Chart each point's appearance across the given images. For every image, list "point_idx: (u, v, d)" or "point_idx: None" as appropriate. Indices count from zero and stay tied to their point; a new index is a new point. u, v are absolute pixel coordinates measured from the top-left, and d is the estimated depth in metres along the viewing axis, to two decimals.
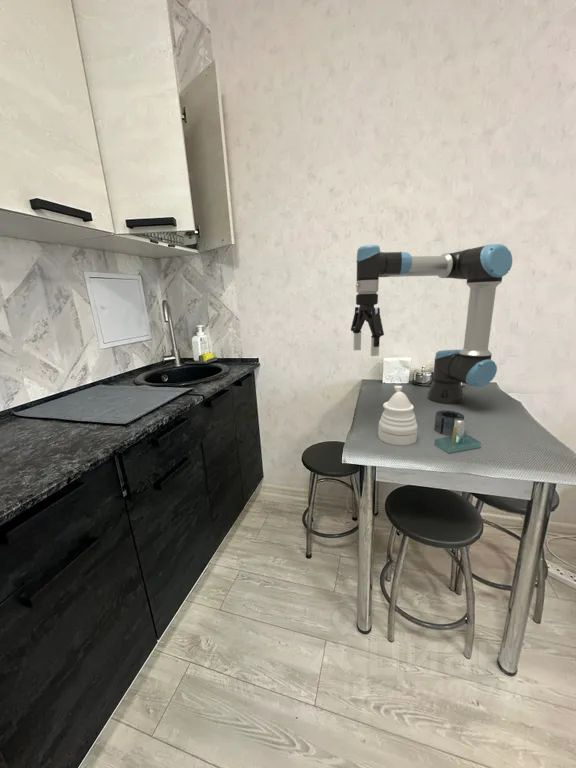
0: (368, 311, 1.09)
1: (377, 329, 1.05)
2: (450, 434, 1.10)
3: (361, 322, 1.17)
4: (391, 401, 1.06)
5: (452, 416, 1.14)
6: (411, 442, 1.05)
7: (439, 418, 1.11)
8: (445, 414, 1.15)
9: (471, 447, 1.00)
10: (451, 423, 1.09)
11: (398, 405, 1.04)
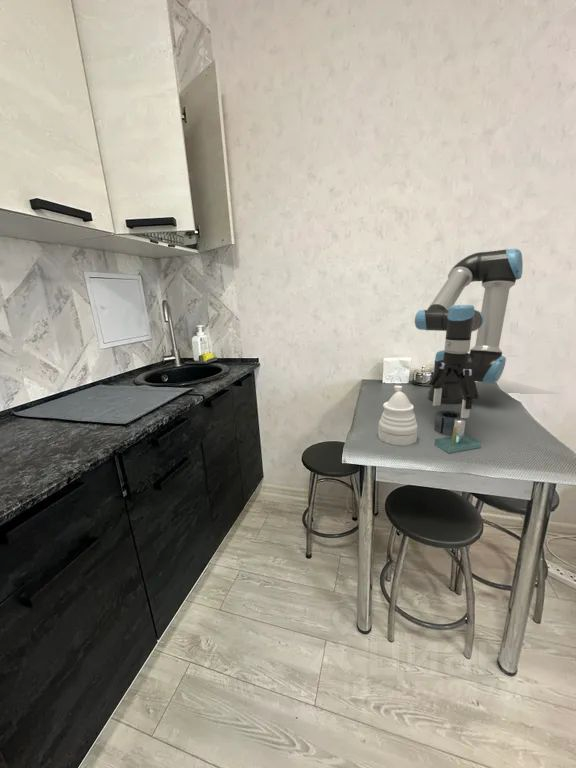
0: (459, 371, 1.04)
1: (472, 392, 1.00)
2: (450, 434, 1.10)
3: (445, 379, 1.13)
4: (391, 401, 1.06)
5: (452, 416, 1.14)
6: (411, 442, 1.05)
7: (439, 418, 1.11)
8: (445, 414, 1.15)
9: (471, 447, 1.00)
10: (451, 423, 1.09)
11: (398, 405, 1.04)
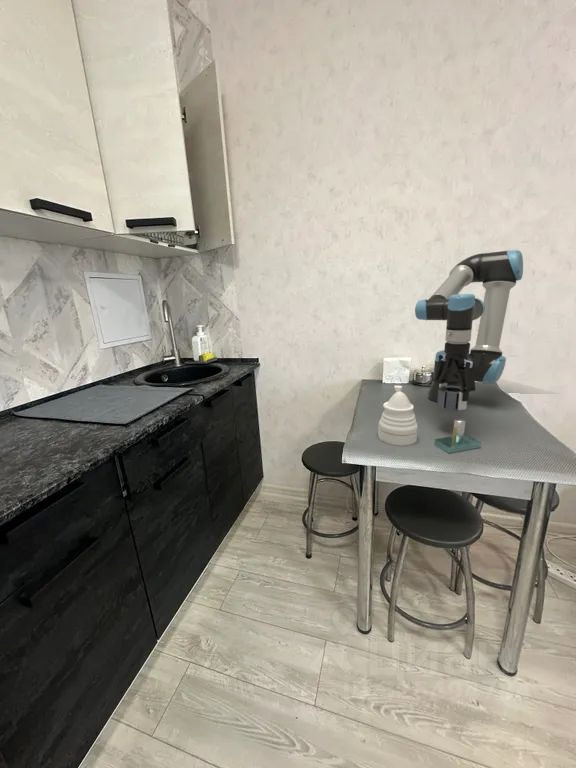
0: (460, 362, 1.04)
1: (469, 385, 1.02)
2: (453, 408, 1.08)
3: (448, 371, 1.11)
4: (391, 401, 1.06)
5: (455, 391, 1.12)
6: (411, 442, 1.05)
7: (442, 393, 1.09)
8: (448, 389, 1.13)
9: (471, 447, 1.00)
10: (454, 397, 1.06)
11: (398, 405, 1.04)
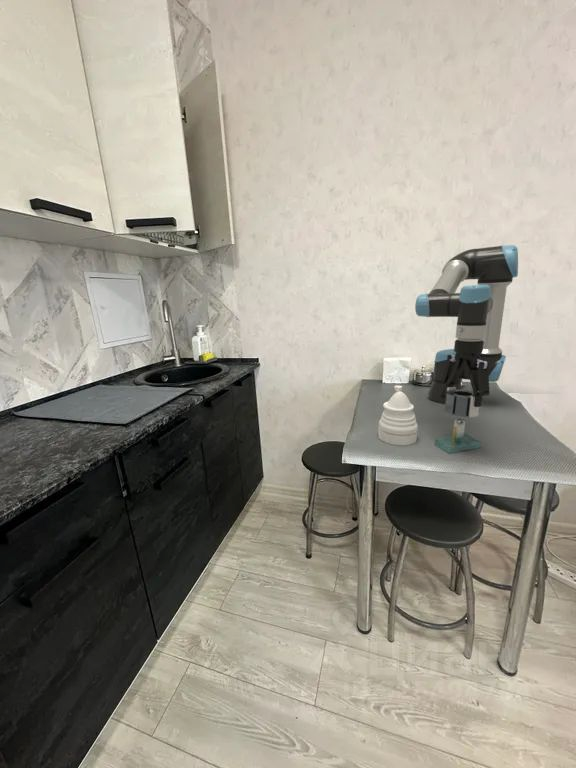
0: (472, 362, 0.91)
1: (483, 388, 0.89)
2: (464, 415, 0.95)
3: (458, 373, 0.99)
4: (391, 401, 1.06)
5: (465, 395, 0.99)
6: (411, 442, 1.05)
7: (451, 396, 0.96)
8: (457, 393, 1.00)
9: (471, 447, 1.00)
10: (465, 402, 0.94)
11: (399, 405, 1.04)
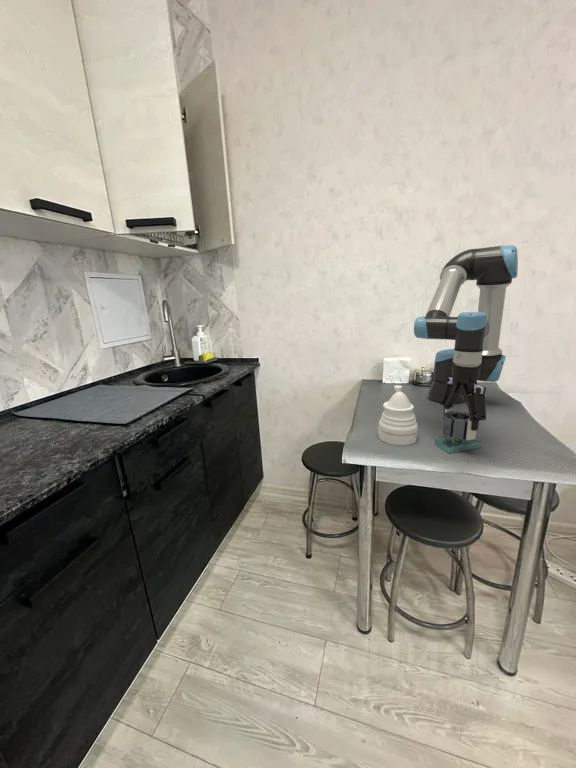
0: (469, 387, 0.93)
1: (480, 413, 0.91)
2: (461, 438, 0.97)
3: (455, 395, 1.01)
4: (391, 401, 1.06)
5: (463, 417, 1.01)
6: (411, 442, 1.05)
7: (448, 419, 0.98)
8: (455, 415, 1.02)
9: (471, 447, 1.00)
10: (462, 425, 0.96)
11: (398, 405, 1.04)
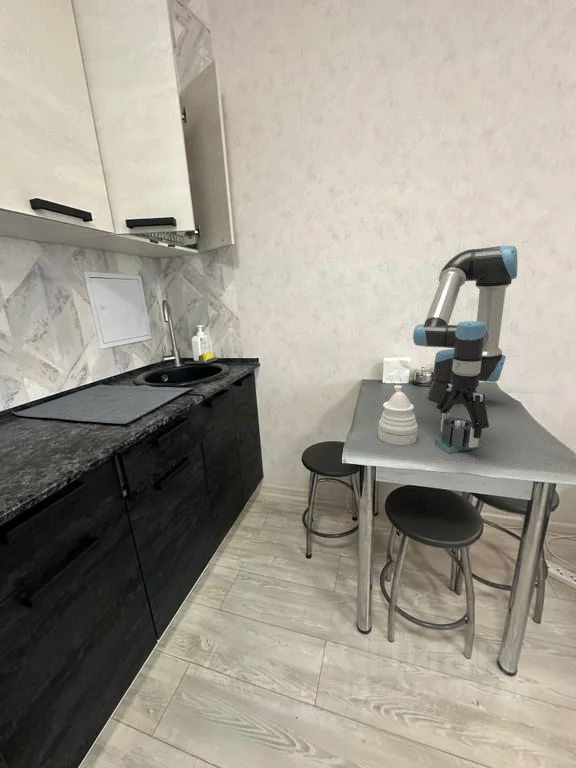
0: (468, 395, 0.94)
1: (482, 421, 0.91)
2: (460, 445, 0.97)
3: (453, 402, 1.02)
4: (391, 401, 1.06)
5: None
6: (411, 442, 1.05)
7: (448, 427, 0.99)
8: None
9: None
10: (461, 433, 0.96)
11: (398, 405, 1.04)
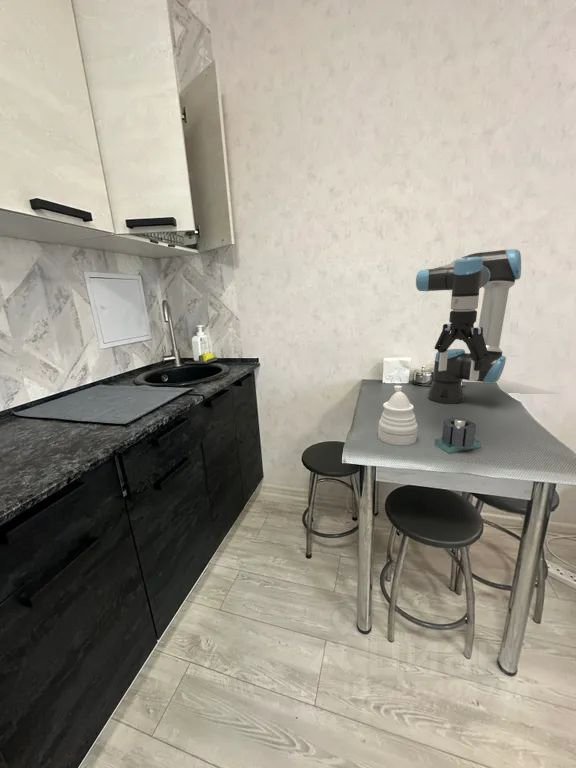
0: (467, 331, 0.97)
1: (482, 352, 0.93)
2: (460, 445, 0.97)
3: (451, 341, 1.05)
4: (391, 401, 1.06)
5: None
6: (411, 442, 1.05)
7: (448, 427, 0.99)
8: None
9: (471, 447, 1.00)
10: (461, 433, 0.96)
11: (398, 405, 1.04)
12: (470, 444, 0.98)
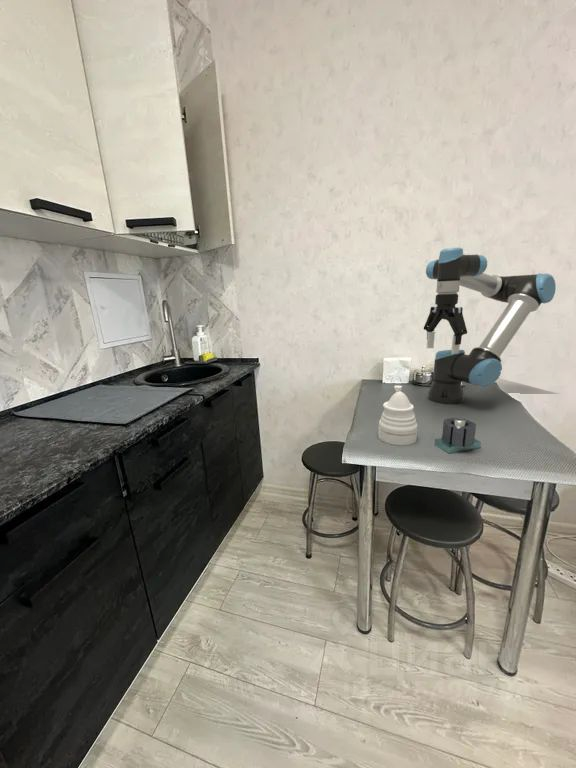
0: (449, 310, 1.14)
1: (461, 328, 1.10)
2: (460, 445, 0.97)
3: (437, 321, 1.22)
4: (391, 401, 1.06)
5: None
6: (411, 442, 1.05)
7: (448, 427, 0.99)
8: None
9: (471, 447, 1.00)
10: (461, 433, 0.96)
11: (398, 405, 1.04)
12: (470, 444, 0.98)
